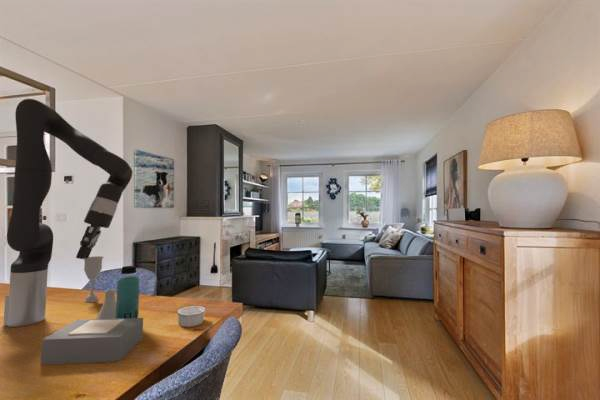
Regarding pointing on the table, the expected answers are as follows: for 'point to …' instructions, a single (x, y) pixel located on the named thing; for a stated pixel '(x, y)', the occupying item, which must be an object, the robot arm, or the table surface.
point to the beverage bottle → (127, 294)
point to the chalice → (92, 274)
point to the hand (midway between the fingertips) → (82, 258)
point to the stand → (92, 341)
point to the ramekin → (191, 316)
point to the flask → (108, 306)
